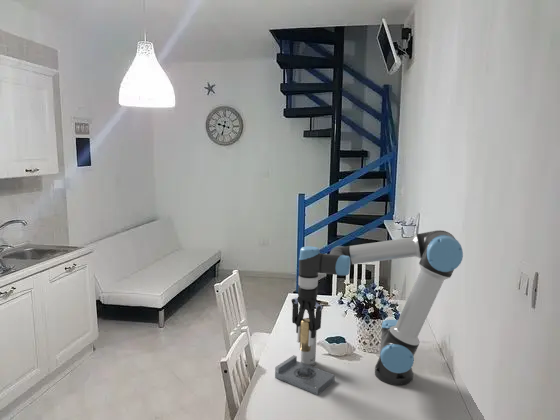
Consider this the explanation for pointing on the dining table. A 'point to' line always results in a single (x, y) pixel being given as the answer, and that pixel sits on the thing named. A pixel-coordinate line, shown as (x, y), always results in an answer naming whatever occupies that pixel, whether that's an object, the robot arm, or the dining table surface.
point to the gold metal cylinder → (304, 335)
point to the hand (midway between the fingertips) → (305, 343)
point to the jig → (294, 370)
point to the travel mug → (309, 355)
